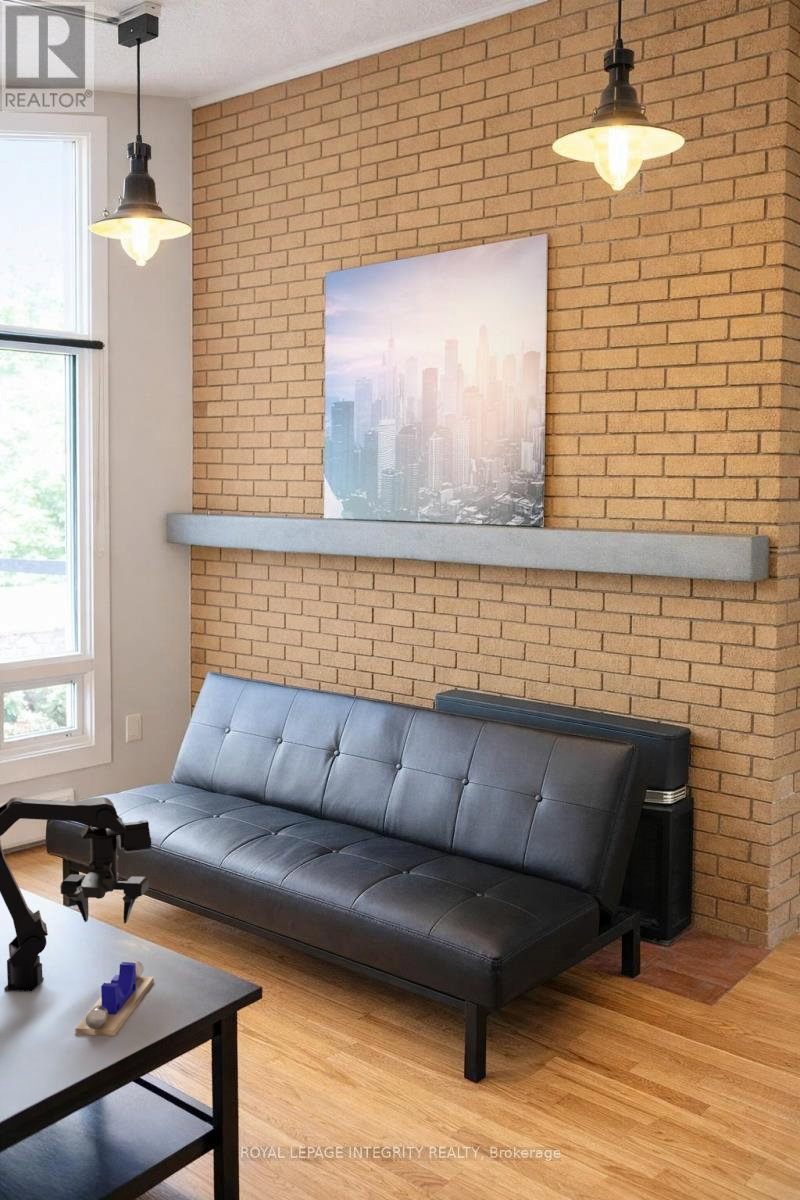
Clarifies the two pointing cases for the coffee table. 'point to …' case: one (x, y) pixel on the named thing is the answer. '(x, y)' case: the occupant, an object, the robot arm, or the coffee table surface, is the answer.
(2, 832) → the robot arm
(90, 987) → the coffee table surface
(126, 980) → the cable clip
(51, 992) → the coffee table surface
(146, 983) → the light wooden board
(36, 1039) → the coffee table surface
